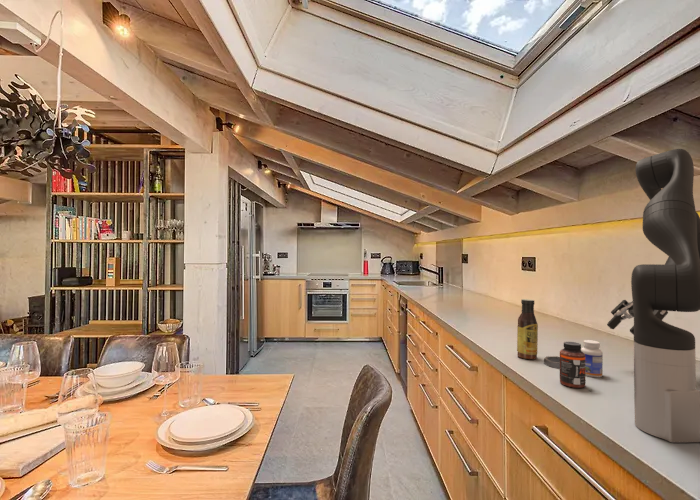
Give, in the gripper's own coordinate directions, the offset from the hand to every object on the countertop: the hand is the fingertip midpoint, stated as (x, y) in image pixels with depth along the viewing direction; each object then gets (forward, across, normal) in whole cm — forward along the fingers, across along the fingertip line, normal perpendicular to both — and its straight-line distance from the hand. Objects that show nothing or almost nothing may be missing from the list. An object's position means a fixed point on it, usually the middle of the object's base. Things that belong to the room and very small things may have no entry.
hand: (620, 330), depth 103 cm
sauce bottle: (+23, -18, -4) cm, 29 cm away
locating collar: (+18, -9, 0) cm, 20 cm away
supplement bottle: (+23, +8, -5) cm, 25 cm away
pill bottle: (+16, 0, +3) cm, 16 cm away
